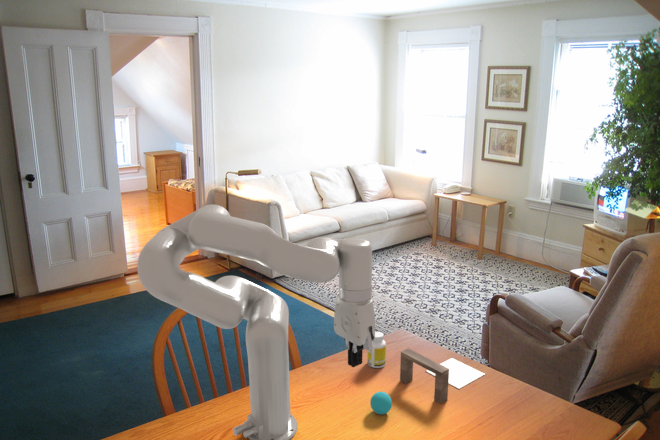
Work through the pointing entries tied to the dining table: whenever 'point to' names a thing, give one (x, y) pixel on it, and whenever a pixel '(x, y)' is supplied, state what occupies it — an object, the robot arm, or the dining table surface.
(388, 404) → the ball
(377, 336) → the supplement bottle
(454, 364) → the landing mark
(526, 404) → the dining table surface
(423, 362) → the bridge
